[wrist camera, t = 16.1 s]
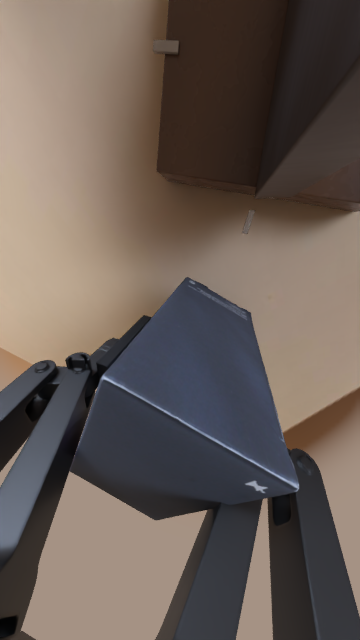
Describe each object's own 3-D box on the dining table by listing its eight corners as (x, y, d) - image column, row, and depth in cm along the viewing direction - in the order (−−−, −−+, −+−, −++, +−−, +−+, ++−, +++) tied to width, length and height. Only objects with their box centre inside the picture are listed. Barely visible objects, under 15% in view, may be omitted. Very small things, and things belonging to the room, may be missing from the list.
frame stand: (673, -275, 5) (1050, -704, 3) (339, 252, 13) (364, 257, 10) (192, -193, 7) (175, -398, 5) (157, 216, 15) (144, 214, 12)
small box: (183, 271, 13) (86, 370, 4) (253, 312, 13) (324, 498, 4) (140, 354, 18) (60, 476, 9) (190, 382, 18) (160, 526, 9)
